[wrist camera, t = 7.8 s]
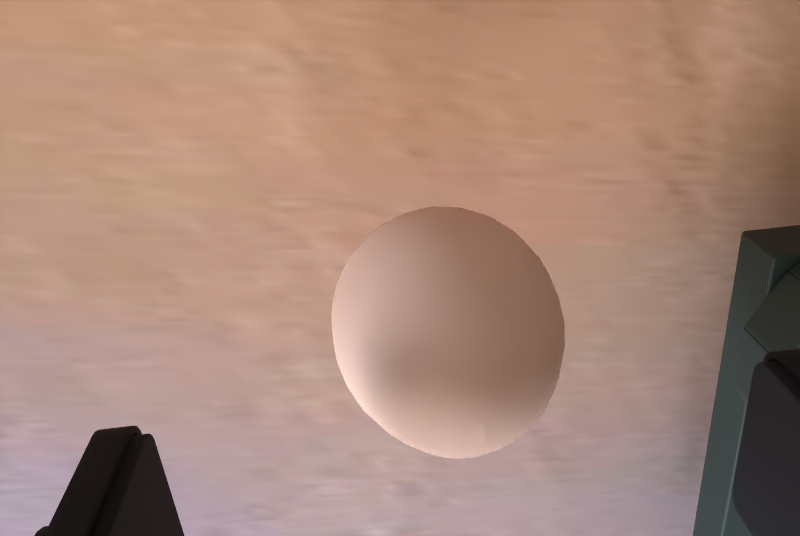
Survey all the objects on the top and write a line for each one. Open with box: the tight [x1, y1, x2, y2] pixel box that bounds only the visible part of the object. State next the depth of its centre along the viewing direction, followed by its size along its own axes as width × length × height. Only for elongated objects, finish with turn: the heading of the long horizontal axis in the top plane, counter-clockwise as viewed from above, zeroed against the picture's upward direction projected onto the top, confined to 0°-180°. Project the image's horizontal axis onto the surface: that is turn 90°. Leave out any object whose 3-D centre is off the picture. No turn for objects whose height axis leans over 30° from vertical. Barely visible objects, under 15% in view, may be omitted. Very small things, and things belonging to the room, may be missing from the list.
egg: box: [331, 207, 565, 459], centre depth 13 cm, size 4×4×6 cm
